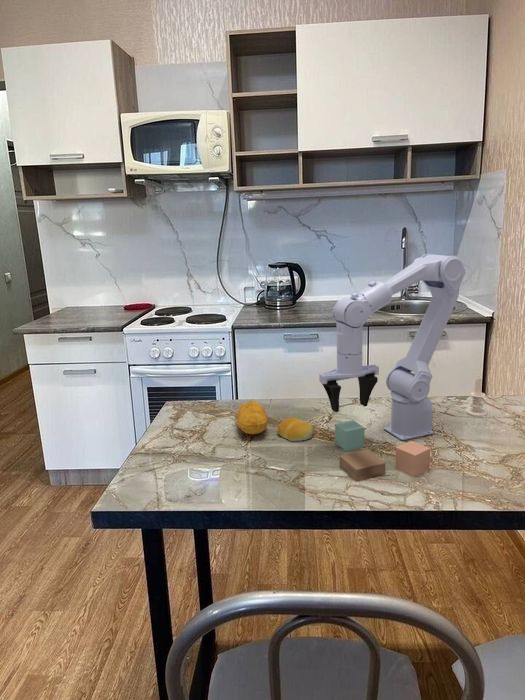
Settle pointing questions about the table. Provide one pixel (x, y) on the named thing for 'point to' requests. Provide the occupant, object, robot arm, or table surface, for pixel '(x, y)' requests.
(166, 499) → the table surface
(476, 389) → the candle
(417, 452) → the terracotta cube
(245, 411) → the orange oval lump
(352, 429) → the teal cube
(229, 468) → the table surface
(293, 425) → the bread roll
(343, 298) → the robot arm
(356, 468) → the walnut block
